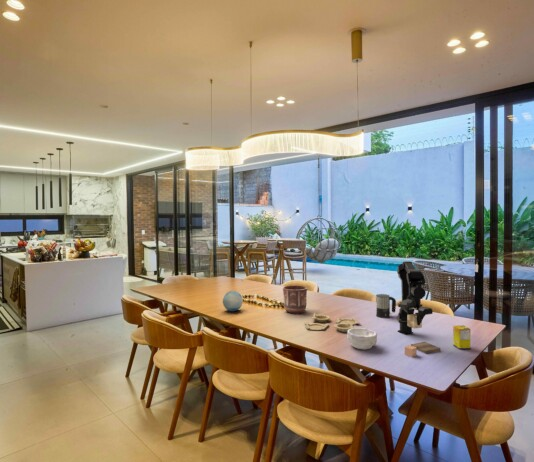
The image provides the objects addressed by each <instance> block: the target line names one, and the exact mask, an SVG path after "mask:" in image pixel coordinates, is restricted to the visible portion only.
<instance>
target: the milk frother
mask: <svg viewBox="0 0 534 462" xmlns="http://www.w3.org/2000/svg"><path fill="white" fill-rule="evenodd" d="M375 296H376V297H375V298H376V311H375V312H376V315H375V316H376V317H377V318H381V319H382V318H383V319H388V318H391V317H390V315H391V312H392V313H396V307H397V301H396V300H397V299H396V298H394V297H393V296H390V295H389V294H385V293H379V294H378V293H377V294H375ZM390 302H391V304H390ZM390 309H391V310H390ZM390 311H391V312H390Z"/></svg>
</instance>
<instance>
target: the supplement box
mask: <svg viewBox="0 0 534 462" xmlns="http://www.w3.org/2000/svg"><path fill="white" fill-rule="evenodd" d="M452 326H453V327H452V328H453V331H452V332H453V333H452V334H453V335H452V337H453V338H452V340H453V342H452V343H453V344H452V346H453V347H455V348H457V349H458V350H471V328H470V327H468V326H466V325H462V324H461V325H452Z"/></svg>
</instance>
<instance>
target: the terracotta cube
mask: <svg viewBox="0 0 534 462" xmlns="http://www.w3.org/2000/svg"><path fill="white" fill-rule="evenodd" d="M417 351H418V350H417V347H414V346H411V344H408V345H406V346H404V355H405V356H408V357H411V358H414V357H416V356H417Z"/></svg>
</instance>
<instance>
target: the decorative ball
mask: <svg viewBox="0 0 534 462" xmlns="http://www.w3.org/2000/svg"><path fill="white" fill-rule="evenodd" d="M243 302H244V300H243V296H242V294H241V293H239V292H238V291H236V290H235V291H234V290H231V291H227V292H226V293H225V294H224V296H223V298H222V305H223V307H224V308H225V310H227V311H229V312H237V311H238V310H240V309H241V307H242V306H243Z"/></svg>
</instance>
